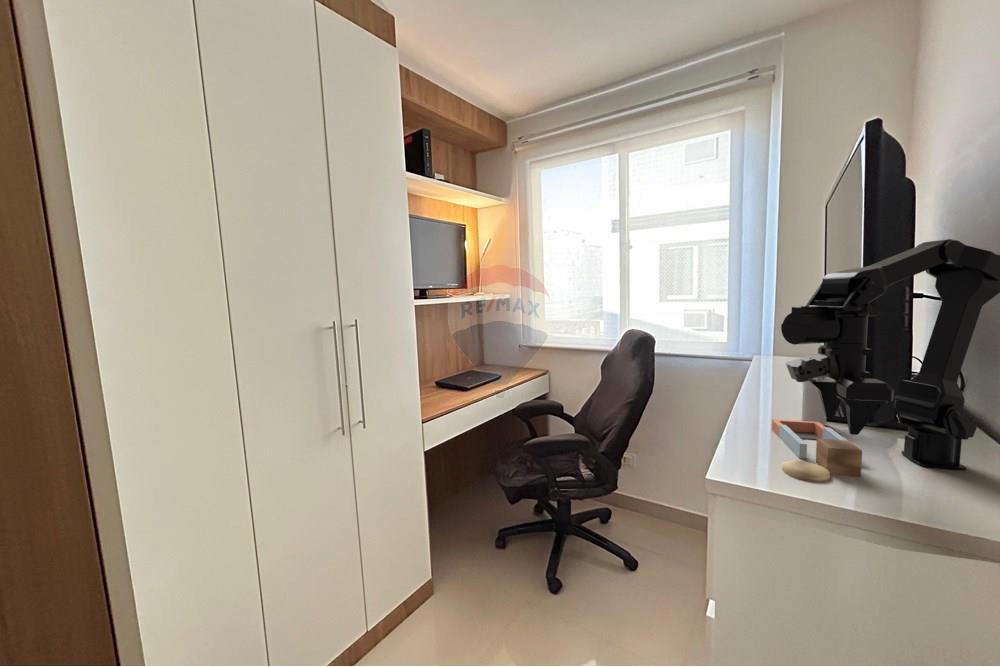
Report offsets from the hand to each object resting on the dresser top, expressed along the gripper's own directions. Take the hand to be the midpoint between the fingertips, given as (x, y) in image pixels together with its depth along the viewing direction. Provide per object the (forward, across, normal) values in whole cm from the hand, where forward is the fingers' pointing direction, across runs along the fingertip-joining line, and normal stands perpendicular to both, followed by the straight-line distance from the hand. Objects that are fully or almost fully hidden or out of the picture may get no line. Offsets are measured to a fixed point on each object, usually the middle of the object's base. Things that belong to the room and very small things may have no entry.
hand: (840, 425), depth 74 cm
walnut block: (+9, 0, 0) cm, 9 cm away
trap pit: (+8, -19, 0) cm, 20 cm away
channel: (+8, -10, 0) cm, 13 cm away
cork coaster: (+8, +3, -6) cm, 11 cm away
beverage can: (+9, -28, +6) cm, 30 cm away
